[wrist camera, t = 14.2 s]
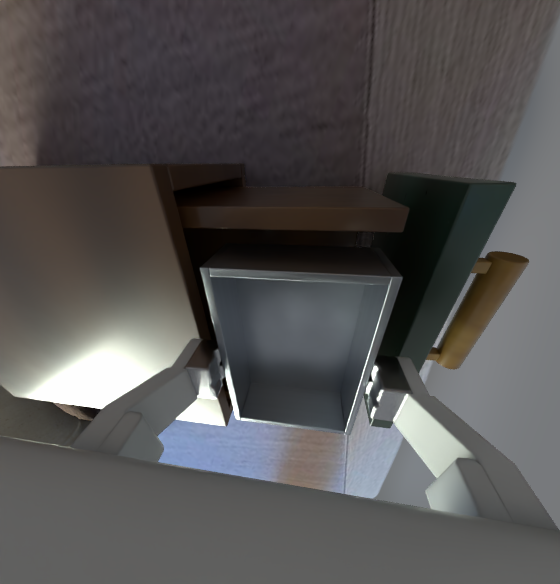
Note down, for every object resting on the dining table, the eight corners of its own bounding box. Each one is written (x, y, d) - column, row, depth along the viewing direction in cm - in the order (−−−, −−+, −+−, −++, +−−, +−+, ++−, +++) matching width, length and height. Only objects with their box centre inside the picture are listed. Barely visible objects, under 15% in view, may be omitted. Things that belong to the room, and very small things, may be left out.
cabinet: (244, 163, 14) (150, 163, 6) (259, 328, 22) (227, 427, 14) (34, 167, 16) (-251, 171, 8) (116, 317, 24) (14, 396, 16)
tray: (380, 247, 8) (403, 277, 6) (344, 391, 13) (350, 435, 10) (226, 242, 9) (199, 267, 6) (247, 380, 13) (235, 419, 11)
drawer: (485, 171, 12) (703, 181, 5) (411, 342, 19) (463, 438, 12) (166, 175, 14) (39, 185, 8) (205, 325, 21) (157, 398, 15)
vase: (-279, 426, 20) (-84, 591, 27) (-342, 489, 11) (-32, 706, 19) (34, 323, 39) (100, 436, 46) (100, 317, 30) (167, 458, 38)
